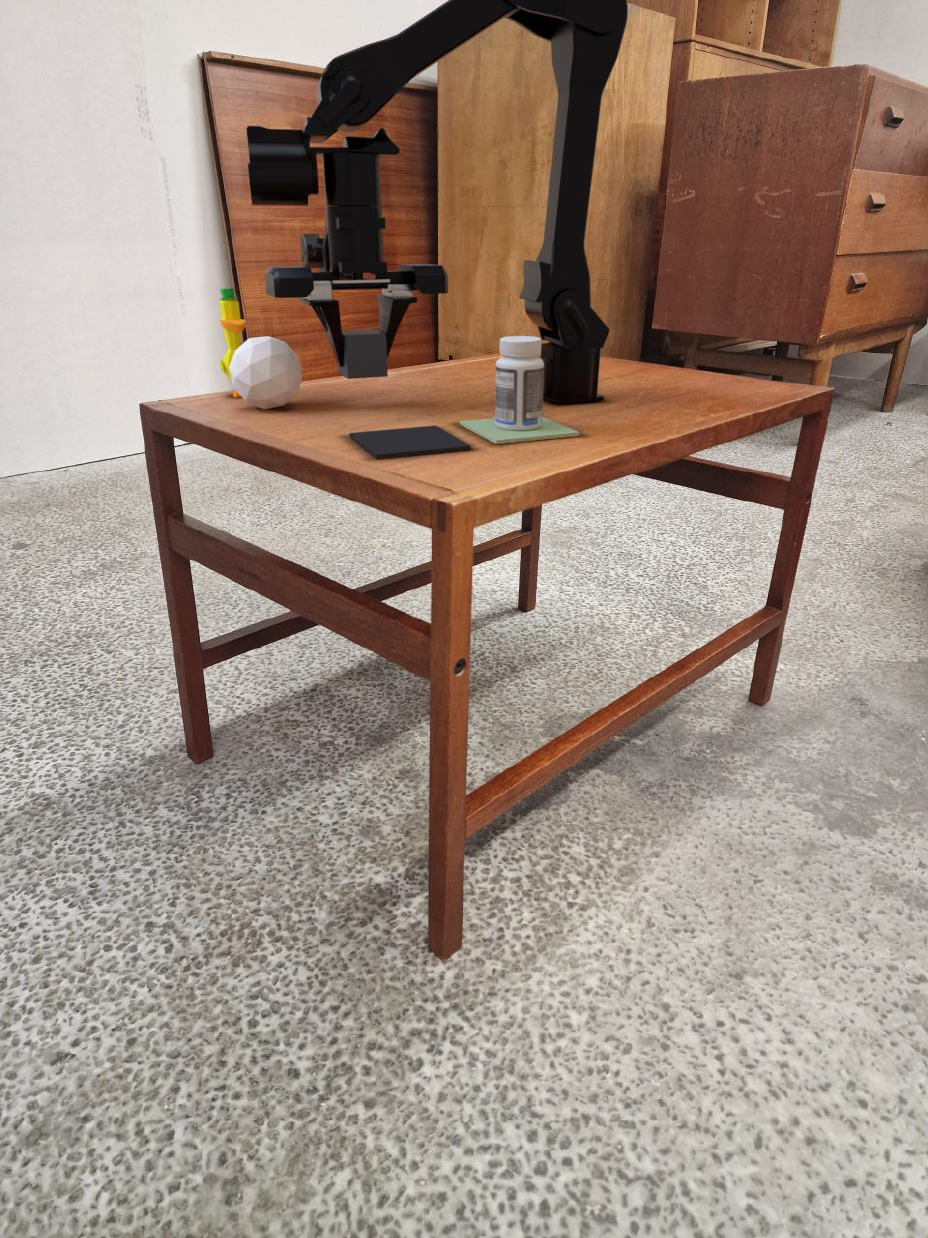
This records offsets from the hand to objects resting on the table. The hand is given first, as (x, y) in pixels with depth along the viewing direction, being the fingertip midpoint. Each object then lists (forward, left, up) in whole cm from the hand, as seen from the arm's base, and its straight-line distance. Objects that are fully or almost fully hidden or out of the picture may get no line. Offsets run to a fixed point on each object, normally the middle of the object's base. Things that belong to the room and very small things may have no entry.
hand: (362, 364), depth 89 cm
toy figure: (+12, -12, -5) cm, 18 cm away
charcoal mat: (+1, +18, -5) cm, 19 cm away
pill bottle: (-11, +17, -4) cm, 21 cm away
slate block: (0, 0, -1) cm, 1 cm away
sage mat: (-11, +17, -5) cm, 21 cm away
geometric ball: (+10, -4, -5) cm, 12 cm away
